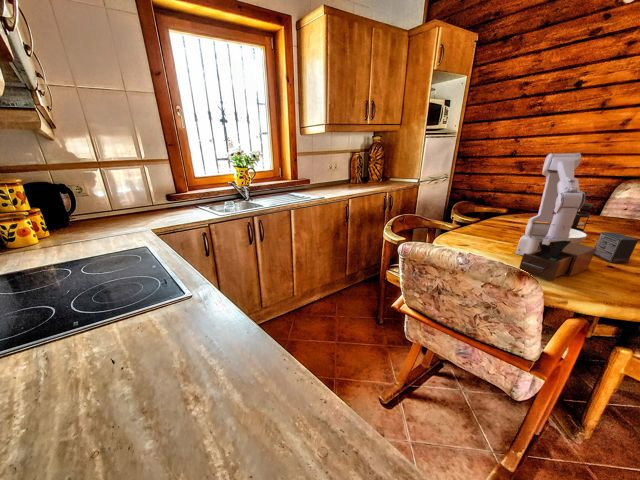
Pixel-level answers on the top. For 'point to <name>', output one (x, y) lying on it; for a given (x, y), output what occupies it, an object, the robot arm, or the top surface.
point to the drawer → (545, 265)
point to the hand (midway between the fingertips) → (549, 258)
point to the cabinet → (577, 257)
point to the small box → (614, 247)
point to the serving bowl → (577, 236)
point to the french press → (577, 217)
